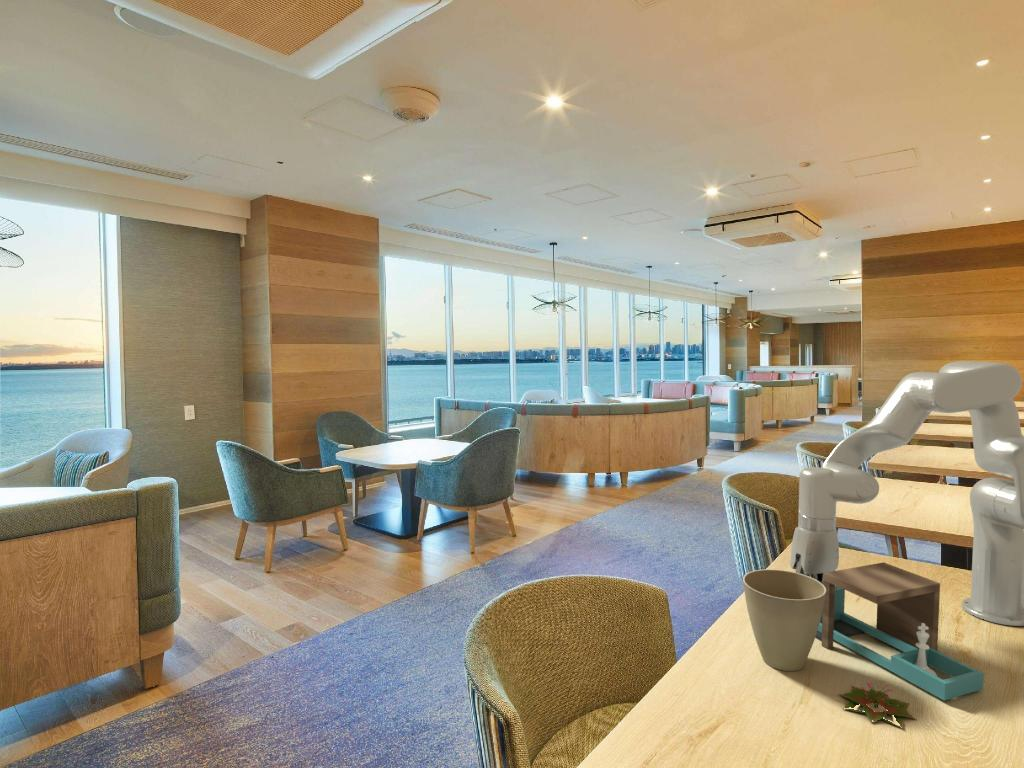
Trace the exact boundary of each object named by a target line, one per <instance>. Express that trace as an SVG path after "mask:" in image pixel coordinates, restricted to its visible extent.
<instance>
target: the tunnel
mask: <svg viewBox="0 0 1024 768" xmlns="http://www.w3.org/2000/svg"><path fill="white" fill-rule="evenodd" d="M823 585H824V586H825V588H826V596H825V601H824V606H823V612H822V633H821V632H819V631H817V634H816V637H815V639H817V640H819V641H820V642H821V646H822V647H823V648H825V649H827V650H828V649H833V648H834V641H835V640H834V639H833V634H834V630H835V631H837V632H839V633H841V634H843V635H844V636H846V637H852V636H854V635H860V634H864V633H866V632H864V631H862V630H860V629H858V628H856V627H854V626H852V625H850V624H848V623H846V622H844V621H842V620H837V621H834V601H835V586H838V587H840V588H842V589H844V590H845V591H846V592H849V593H852V594H853V595H856V596H859V597H860V598H863V599H864V600H867V601H869V602H872V603H874V604H876V626H875V628H877V629H879V630H881V631H883V632H885V633H887V634H889V635H891V636H893V637H895V638H897V639H899V640H901V641H903V642H905V643H907V644H909V645H911V646H913V647H915V648H917V649H919V648H918V647H917V646H916V643H919V640H918V636H917V634H916V632H917V631H921V630H919V629H918V626H921V623H924V624H925V626H927V627H928V630H925V632H926V633H928V634H929V638H928V640H927V642H926V644H927V645H928V646H929V647H931V648H933V649H935V650H937V651H938V648H939V646H938V641H939V622H940V597H941V594H940V593H941V583H940V582H938V581H935V580H933V579H929V578H927V577H924V576H923V575H922V576H921V575H919V574H916V573H913V572H911V571H908V570H905V569H902V568H899V567H897V566H895V565H892V564H890V563H887V562H879V563H873V564H867V565H861V566H856V567H851V568H845V569H839V570H838V569H837V570H835V571H832V572H827V573H824V578H823Z"/></svg>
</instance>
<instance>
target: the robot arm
mask: <svg viewBox="0 0 1024 768" xmlns="http://www.w3.org/2000/svg"><path fill="white" fill-rule="evenodd" d="M1022 387H1023V377H1022V375H1021V373H1020V372H1019V370H1018V369H1017V368H1016V367H1014V366H1012V365H1011V364H1008V363H1005V362H998V361H997V362H995V361H992V362H991V361H973V360H970V361H969V360H959V361H957V360H956V361H951V362H948V363H946V364H944V365H943V366H942V367H941V368H940V369H939V371H938V372H932V371H931V372H930V371H916V372H915V371H914V372H911V373H908V374H907V375H905V376H904V377H903V378H902V379H901V380H900V381H899V383H898V384H897V385H896V386H895V388H894V389H893V390H892V391H891V393H890V395H889V396H888V397H887V398H886V400H885V401H884V403H883V404H882V405H881V407H880V408H879V409H878V411H877V412H876V414H875V415H874V417H872V419H870V421H869V422H868V423H867V424H865V425H864V426H861V427H860V428H858V429H857V430H856V431H854V432H852V434H850V435H848V436H847V437H845V438H844V439H842V440H841V442H839V443H838V444H836V446H835V447H834V448H833V449H832V451H831V452H830V454H829V455H828V457H826V459H825V461H824V462H823V463H822V465H821V467H817V466H807V467H804V468H802V469H801V470H800V471H799V480H798V481H799V483H798V484H799V485H798V489H799V490H798V514H797V515H798V516H797V517H798V518H797V519H798V523H797V525H798V526H796V527H795V529H794V532H793V537H792V540H791V541H792V542H791V547H790V548H791V549H790V550H791V551H790V560H789V561H790V563H789V564H790V565H789V566H790V567H791V569H793V570H795V572H796V573H800V574H803V575H806V576H809V577H811V578H814V579H816V580H817V581H819V582H820V583H822V584H823V578H824V573H827V572H832V571H837V570H838V568H839V561H840V560H839V559H840V549H839V548H840V547H839V546H840V545H839V536H838V530H837V528H836V522H837V520H838V519H837V516H836V515H837V514H836V513H837V502H842V503H848V504H849V503H850V504H859V505H861V504H867V503H870V502H872V501H874V500H875V499H876V498H877V497H878V495H879V493H880V484H879V482H878V480H877V478H876V477H875V476H874V475H872V474H871V473H869V472H867V471H865V470H862V469H859V467H861V465H862V464H863V463H864V462H865V461H866V460H868V459H869V458H872V457H873V456H875V455H877V454H878V453H882V452H886V451H890V450H893V449H894V450H895V449H898V448H900V447H903V446H906V445H907V444H909V442H910V441H911V440H912V438H913V437H914V436H915V434H916V433H917V432H918V431H919V429H920V427H921V426H922V425H923V424H924V422H925V421H926V420H927V418H928V417H929V416H930V414H931V413H932V412H935V413H943V414H954V413H955V414H957V413H961V412H967V411H968V413H969V416H970V422H971V430H972V446H973V455H974V460H975V463H976V465H977V466H978V467H979V468H980V469H981V470H983V471H986V472H988V473H990V474H994V475H998V476H1001V477H1006V478H1001V477H986V478H983V479H980V480H978V481H977V482H976V483H974V485H973V486H972V488H971V490H970V492H969V504H970V509H971V510H970V511H971V514H972V519H973V520H972V521H973V522H972V523H973V542H972V563H971V583H970V584H971V586H970V597H967V598H965V599H963V600H962V602H961V608H962V610H964V611H965V612H966V611H967V613H968V614H970V615H971V616H973V615H974V616H973V617H975V618H976V617H977V619H981V620H983V619H984V621H987V622H990V623H994V624H999V625H1005V626H1011V627H1012V626H1014V627H1024V435H1023V432H1022V430H1021V422H1020V421H1021V420H1020V414H1019V411H1018V407H1017V404H1016V402H1015V401H1014V399H1013V398H1015V397H1016V396H1017V395H1018V394H1019V393H1020V392H1021V389H1022ZM1007 478H1008V479H1007ZM1010 479H1013V480H1010Z"/></svg>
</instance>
